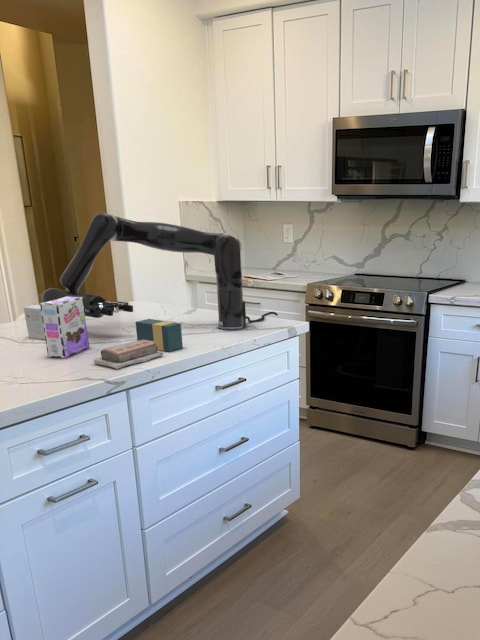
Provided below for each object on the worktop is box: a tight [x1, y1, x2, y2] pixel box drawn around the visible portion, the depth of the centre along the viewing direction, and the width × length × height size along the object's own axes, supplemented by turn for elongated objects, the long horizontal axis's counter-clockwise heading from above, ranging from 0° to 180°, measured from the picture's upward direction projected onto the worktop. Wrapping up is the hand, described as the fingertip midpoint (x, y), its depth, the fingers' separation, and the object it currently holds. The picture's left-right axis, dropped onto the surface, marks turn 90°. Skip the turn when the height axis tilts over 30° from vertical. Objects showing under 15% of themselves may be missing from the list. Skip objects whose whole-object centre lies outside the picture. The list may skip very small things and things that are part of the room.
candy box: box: [39, 297, 90, 359], centre depth 186 cm, size 14×6×16 cm, turn 168°
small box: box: [23, 304, 46, 341], centre depth 206 cm, size 8×6×10 cm
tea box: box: [134, 318, 184, 352], centre depth 196 cm, size 14×6×8 cm, turn 59°
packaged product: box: [93, 340, 164, 370], centre depth 180 cm, size 18×5×10 cm
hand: (122, 310), depth 201 cm, fingers open, 8 cm apart
